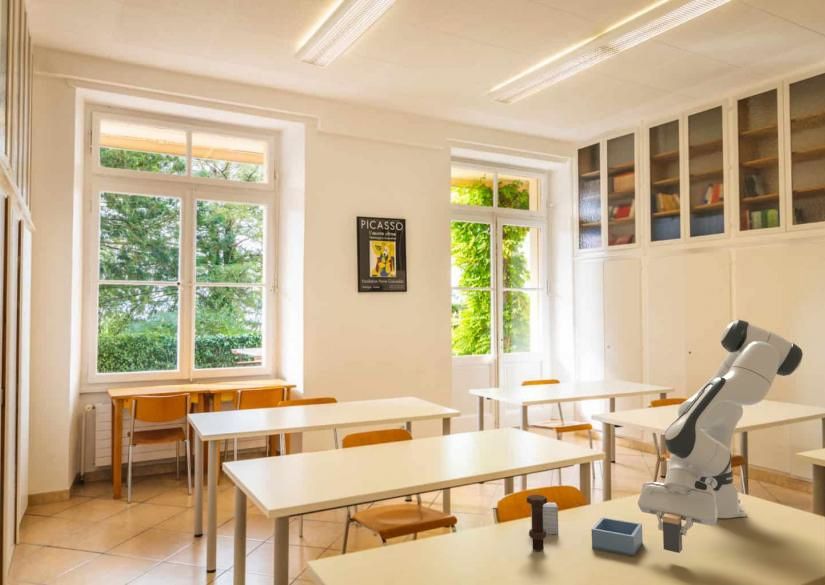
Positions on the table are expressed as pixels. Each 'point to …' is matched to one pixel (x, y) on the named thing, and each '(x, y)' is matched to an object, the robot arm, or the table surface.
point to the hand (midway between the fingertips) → (671, 531)
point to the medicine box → (549, 518)
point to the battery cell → (672, 532)
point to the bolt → (537, 521)
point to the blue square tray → (617, 536)
